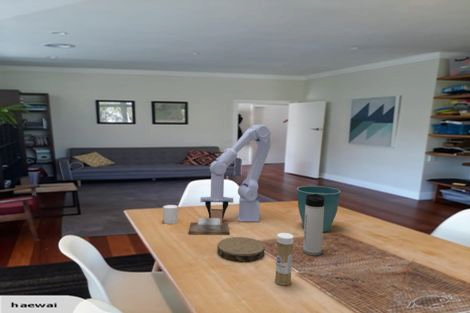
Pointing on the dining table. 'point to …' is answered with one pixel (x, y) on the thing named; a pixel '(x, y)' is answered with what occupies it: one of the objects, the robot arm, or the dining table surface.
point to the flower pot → (329, 203)
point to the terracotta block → (216, 214)
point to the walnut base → (200, 232)
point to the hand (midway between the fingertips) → (216, 218)
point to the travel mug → (313, 224)
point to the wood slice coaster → (240, 249)
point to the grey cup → (170, 214)
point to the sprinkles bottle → (284, 258)
